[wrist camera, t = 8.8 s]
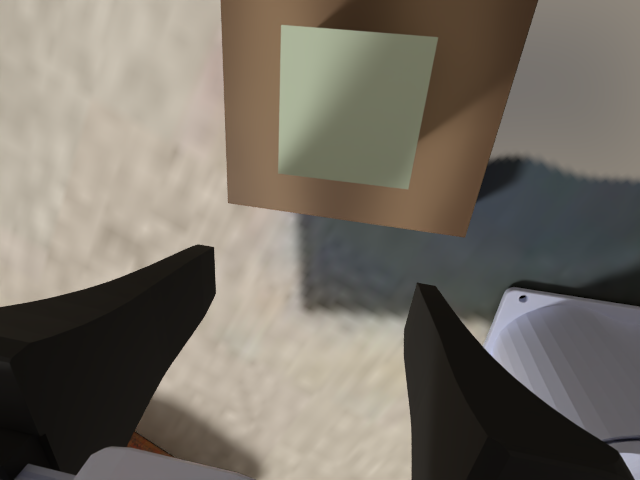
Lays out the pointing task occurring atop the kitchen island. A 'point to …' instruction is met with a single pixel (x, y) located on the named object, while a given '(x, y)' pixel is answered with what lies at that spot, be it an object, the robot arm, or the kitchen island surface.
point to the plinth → (437, 122)
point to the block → (352, 104)
